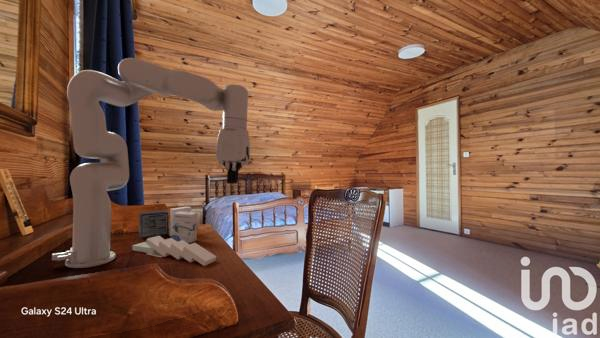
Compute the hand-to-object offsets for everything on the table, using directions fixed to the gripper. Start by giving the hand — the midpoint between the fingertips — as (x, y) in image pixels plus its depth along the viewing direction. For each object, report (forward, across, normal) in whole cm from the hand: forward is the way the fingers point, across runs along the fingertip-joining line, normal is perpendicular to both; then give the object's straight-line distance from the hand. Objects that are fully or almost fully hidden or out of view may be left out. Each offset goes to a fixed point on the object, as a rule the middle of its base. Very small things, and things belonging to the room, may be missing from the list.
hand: (232, 183), depth 82 cm
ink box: (+27, -33, +15) cm, 46 cm away
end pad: (+27, -29, 0) cm, 40 cm away
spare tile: (+26, -30, 0) cm, 40 cm away
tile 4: (+26, -24, 0) cm, 36 cm away
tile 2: (+26, -13, 0) cm, 29 cm away
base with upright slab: (+27, -42, +21) cm, 55 cm away
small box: (+27, -51, +14) cm, 59 cm away
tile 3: (+26, -19, 0) cm, 32 cm away
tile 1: (+26, -7, 0) cm, 27 cm away
